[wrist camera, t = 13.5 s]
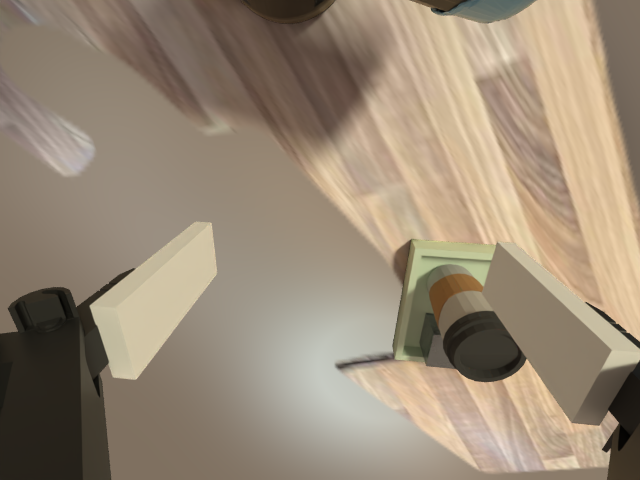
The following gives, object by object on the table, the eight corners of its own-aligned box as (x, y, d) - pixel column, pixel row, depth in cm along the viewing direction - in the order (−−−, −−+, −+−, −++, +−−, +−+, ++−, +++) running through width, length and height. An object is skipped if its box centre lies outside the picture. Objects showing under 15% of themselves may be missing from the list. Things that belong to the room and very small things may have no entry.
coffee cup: (473, 304, 47) (524, 386, 34) (417, 304, 48) (444, 384, 34) (481, 255, 44) (542, 325, 30) (421, 256, 45) (453, 324, 31)
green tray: (411, 239, 45) (415, 248, 42) (511, 246, 44) (522, 255, 41) (392, 346, 53) (394, 359, 50) (476, 353, 52) (483, 367, 49)
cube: (425, 312, 49) (433, 334, 44) (464, 316, 48) (477, 338, 44) (419, 342, 51) (426, 366, 46) (456, 345, 51) (467, 369, 46)
